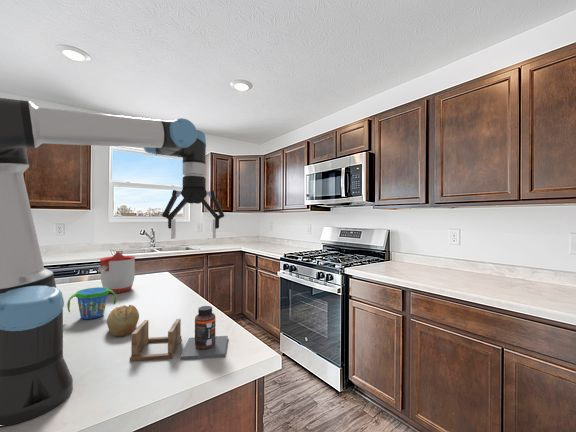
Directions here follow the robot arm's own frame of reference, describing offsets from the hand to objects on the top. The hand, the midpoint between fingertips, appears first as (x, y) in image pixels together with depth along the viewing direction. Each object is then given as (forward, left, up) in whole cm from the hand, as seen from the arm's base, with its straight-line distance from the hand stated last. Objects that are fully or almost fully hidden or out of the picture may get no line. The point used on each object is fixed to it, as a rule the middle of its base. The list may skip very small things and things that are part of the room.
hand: (194, 238), depth 98 cm
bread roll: (+4, +24, -32) cm, 40 cm away
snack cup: (+18, +41, -32) cm, 55 cm away
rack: (-13, +8, -32) cm, 35 cm away
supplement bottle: (-14, -6, -31) cm, 35 cm away
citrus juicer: (+55, +48, -32) cm, 80 cm away
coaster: (-14, -6, -32) cm, 35 cm away
